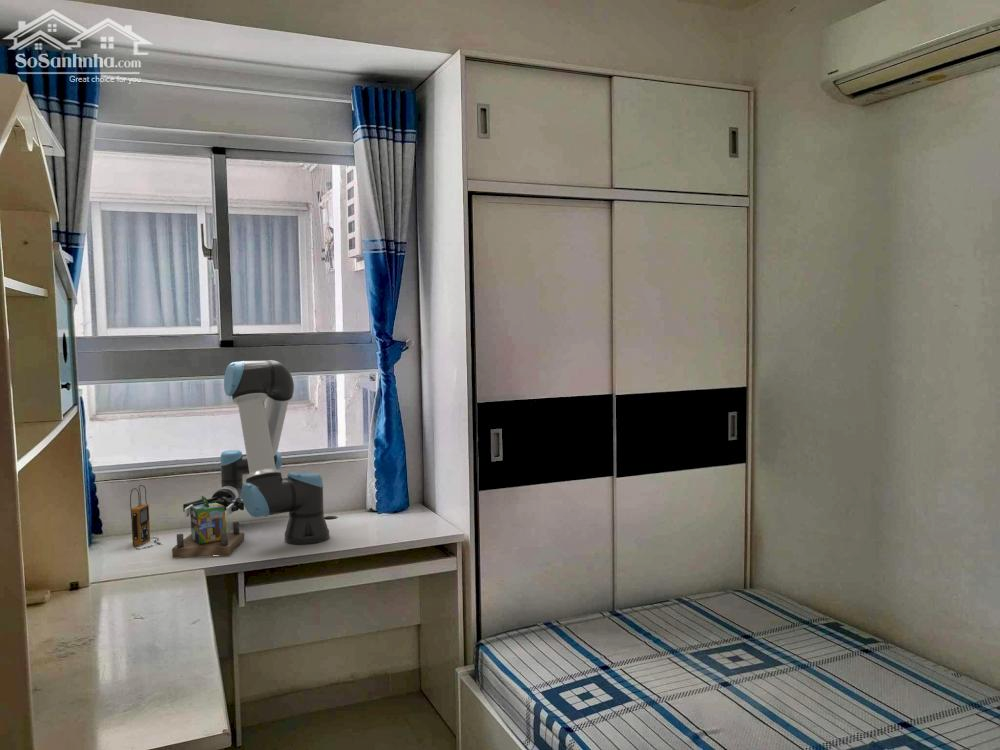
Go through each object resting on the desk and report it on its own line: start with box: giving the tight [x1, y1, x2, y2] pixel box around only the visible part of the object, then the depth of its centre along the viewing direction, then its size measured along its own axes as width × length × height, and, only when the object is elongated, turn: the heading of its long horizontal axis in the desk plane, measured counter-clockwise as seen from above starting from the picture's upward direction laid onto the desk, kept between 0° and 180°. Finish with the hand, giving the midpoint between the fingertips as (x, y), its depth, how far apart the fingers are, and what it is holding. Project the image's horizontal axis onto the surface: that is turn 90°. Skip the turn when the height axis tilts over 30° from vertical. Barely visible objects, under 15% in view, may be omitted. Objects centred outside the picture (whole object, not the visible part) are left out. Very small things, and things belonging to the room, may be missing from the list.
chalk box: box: [189, 495, 227, 545], centre depth 258 cm, size 9×9×15 cm
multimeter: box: [129, 484, 163, 550], centre depth 266 cm, size 15×10×20 cm
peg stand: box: [171, 521, 245, 558], centre depth 259 cm, size 18×18×7 cm
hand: (206, 512), depth 257 cm, fingers open, 13 cm apart
